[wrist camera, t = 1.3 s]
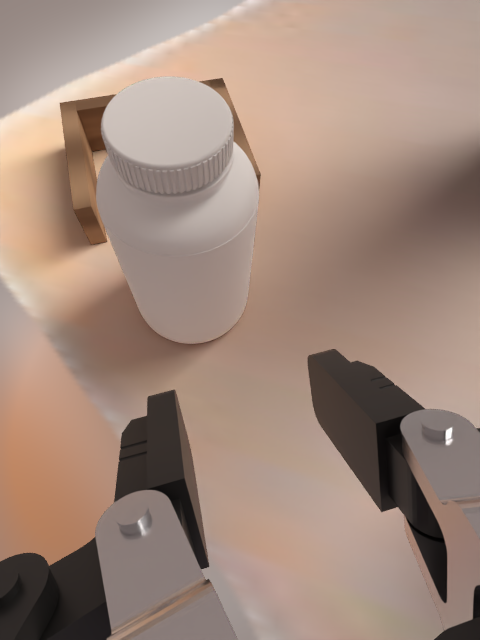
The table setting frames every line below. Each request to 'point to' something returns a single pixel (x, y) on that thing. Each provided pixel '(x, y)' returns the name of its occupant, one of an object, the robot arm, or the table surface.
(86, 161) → the holder
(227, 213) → the pill bottle
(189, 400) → the table surface
